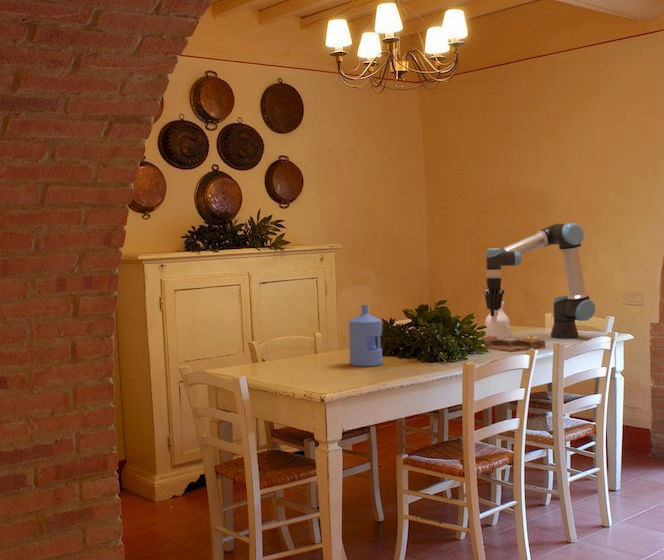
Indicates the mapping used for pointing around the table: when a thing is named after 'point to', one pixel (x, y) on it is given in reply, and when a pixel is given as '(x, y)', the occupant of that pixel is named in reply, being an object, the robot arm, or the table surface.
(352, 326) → the water jug
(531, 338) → the tile three
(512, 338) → the tile one
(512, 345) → the board
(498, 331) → the mug
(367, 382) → the table surface
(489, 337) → the tile two
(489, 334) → the vase
